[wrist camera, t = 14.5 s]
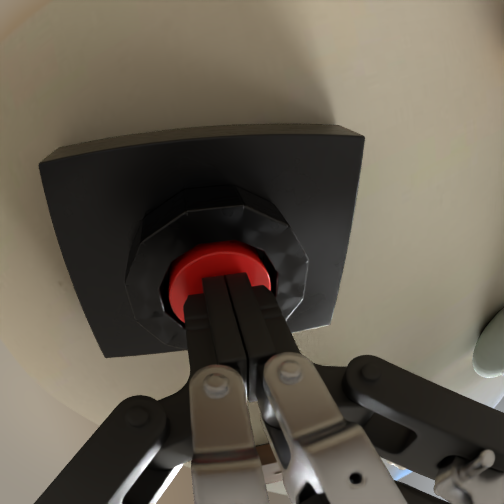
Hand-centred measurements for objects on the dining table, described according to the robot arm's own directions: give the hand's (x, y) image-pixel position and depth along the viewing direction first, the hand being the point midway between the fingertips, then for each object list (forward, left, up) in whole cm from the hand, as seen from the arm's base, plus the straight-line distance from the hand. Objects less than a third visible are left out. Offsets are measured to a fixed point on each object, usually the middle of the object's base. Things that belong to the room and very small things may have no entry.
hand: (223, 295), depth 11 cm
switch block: (0, 0, -4) cm, 4 cm away
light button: (0, 0, -2) cm, 2 cm away
